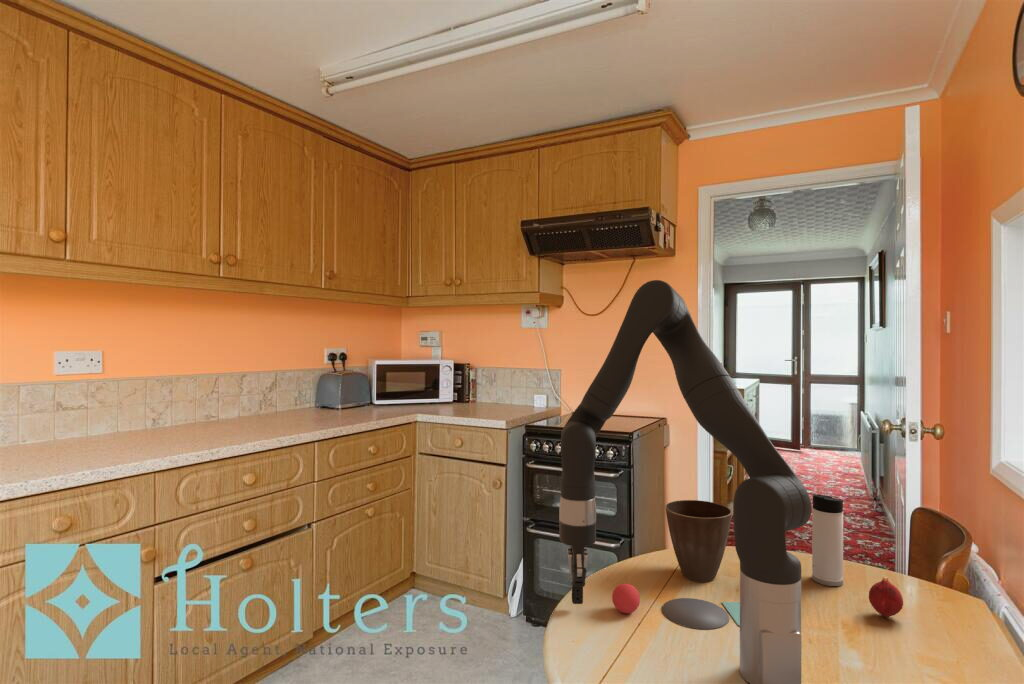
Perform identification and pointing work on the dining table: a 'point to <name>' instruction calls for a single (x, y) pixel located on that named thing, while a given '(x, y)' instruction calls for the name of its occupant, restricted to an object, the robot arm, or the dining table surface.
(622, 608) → the ball
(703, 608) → the disc
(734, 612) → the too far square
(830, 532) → the travel mug
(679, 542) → the plant pot
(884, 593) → the onion
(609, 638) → the dining table surface
